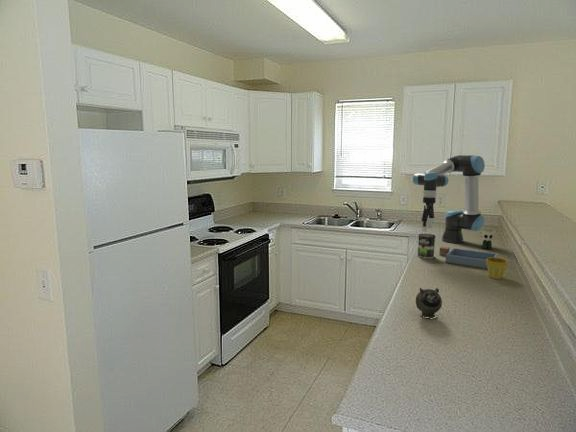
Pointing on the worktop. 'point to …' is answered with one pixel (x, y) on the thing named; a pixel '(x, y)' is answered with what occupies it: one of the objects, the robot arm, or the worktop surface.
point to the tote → (468, 257)
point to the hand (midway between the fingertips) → (427, 229)
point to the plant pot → (496, 267)
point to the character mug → (487, 238)
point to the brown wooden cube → (444, 250)
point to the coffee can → (426, 245)
